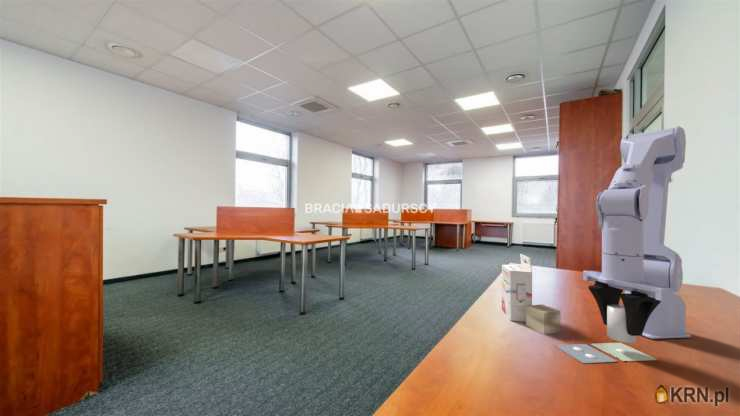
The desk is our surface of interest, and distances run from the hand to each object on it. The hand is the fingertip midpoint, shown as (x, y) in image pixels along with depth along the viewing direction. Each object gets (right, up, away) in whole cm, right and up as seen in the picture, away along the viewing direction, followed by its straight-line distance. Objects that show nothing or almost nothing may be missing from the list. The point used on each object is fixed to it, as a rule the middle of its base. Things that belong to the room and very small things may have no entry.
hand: (621, 329), depth 52 cm
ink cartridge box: (-10, -4, +18) cm, 21 cm away
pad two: (-7, -4, -1) cm, 8 cm away
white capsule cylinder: (0, -2, 0) cm, 2 cm away
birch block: (-8, -4, +10) cm, 14 cm away
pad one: (0, -4, 0) cm, 4 cm away
